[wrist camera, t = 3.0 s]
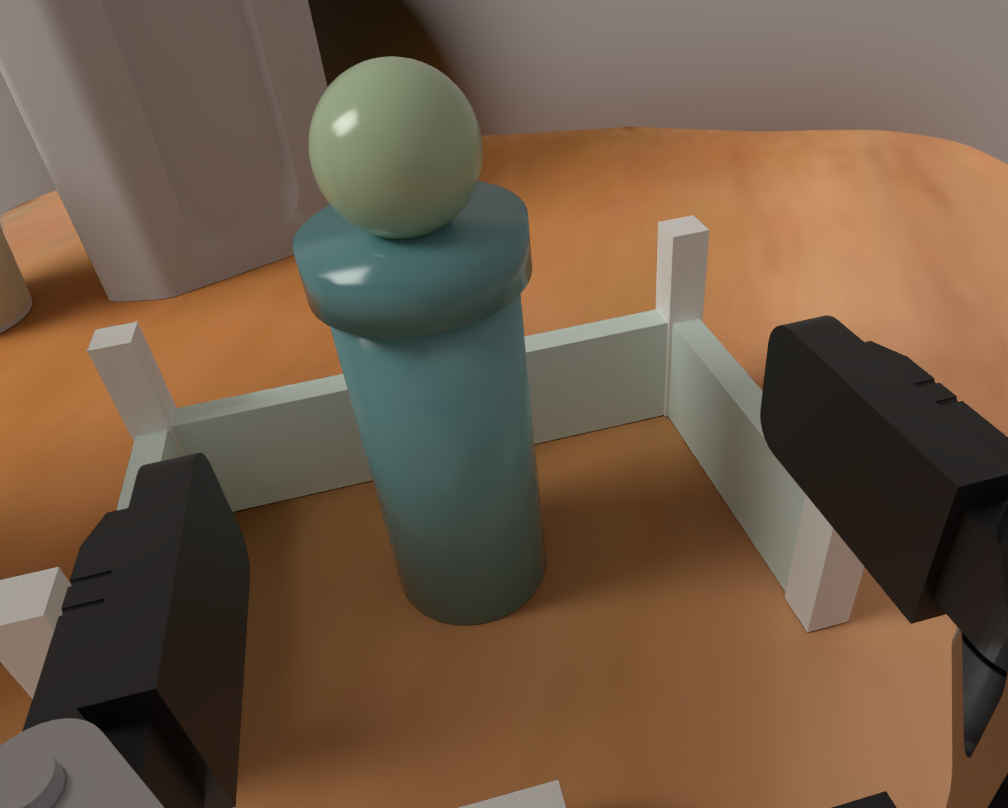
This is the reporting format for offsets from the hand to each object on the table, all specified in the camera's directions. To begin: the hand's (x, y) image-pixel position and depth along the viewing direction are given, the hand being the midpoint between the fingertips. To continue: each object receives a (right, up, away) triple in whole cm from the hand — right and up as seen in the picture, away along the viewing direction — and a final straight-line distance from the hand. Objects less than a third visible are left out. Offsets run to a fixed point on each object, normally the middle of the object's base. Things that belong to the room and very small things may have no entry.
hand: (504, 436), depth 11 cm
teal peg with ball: (-1, -6, +18) cm, 19 cm away
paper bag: (-18, +13, +46) cm, 51 cm away
